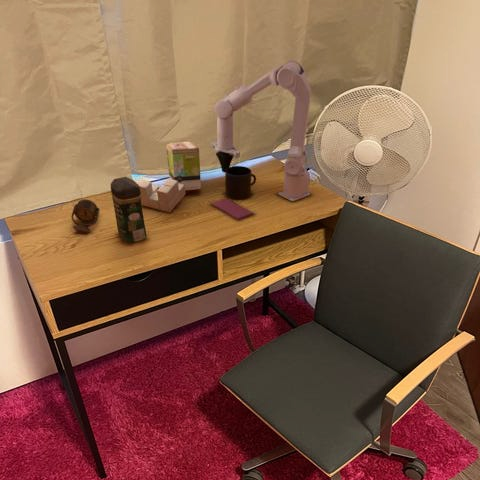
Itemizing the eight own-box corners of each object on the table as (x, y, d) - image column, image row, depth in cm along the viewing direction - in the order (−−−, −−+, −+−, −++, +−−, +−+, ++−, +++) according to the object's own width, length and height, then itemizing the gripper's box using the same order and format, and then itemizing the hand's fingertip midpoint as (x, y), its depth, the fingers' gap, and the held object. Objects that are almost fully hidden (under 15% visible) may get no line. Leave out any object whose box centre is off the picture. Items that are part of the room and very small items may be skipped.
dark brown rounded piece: (109, 203, 157) (82, 192, 158) (86, 216, 147) (58, 205, 148) (107, 222, 162) (81, 212, 163) (85, 237, 152) (58, 225, 153)
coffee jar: (115, 233, 153) (105, 177, 141) (138, 227, 156) (131, 172, 144) (125, 246, 146) (116, 189, 135) (149, 240, 150) (143, 184, 138)
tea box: (202, 189, 174) (199, 146, 167) (175, 192, 172) (170, 149, 165) (194, 179, 187) (191, 140, 179) (169, 182, 185) (165, 142, 177)
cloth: (226, 199, 173) (226, 197, 173) (253, 214, 165) (253, 212, 164) (211, 205, 170) (211, 203, 169) (238, 220, 161) (238, 218, 161)
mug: (261, 196, 176) (262, 172, 170) (231, 201, 172) (232, 177, 166) (249, 186, 183) (250, 163, 177) (221, 191, 179) (221, 168, 173)
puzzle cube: (185, 194, 172) (183, 174, 166) (169, 212, 165) (166, 193, 159) (156, 186, 175) (153, 167, 169) (139, 204, 168) (135, 185, 162)
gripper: (204, 131, 173) (205, 168, 182) (229, 142, 164) (229, 180, 173) (219, 127, 177) (219, 163, 185) (244, 138, 168) (244, 175, 177)
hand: (225, 171), depth 179 cm, fingers closed
